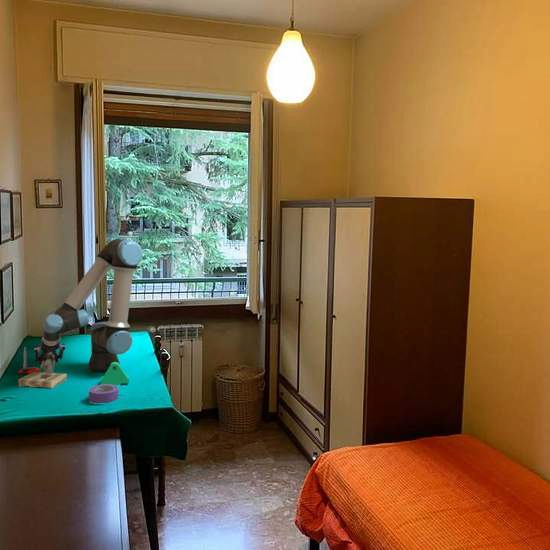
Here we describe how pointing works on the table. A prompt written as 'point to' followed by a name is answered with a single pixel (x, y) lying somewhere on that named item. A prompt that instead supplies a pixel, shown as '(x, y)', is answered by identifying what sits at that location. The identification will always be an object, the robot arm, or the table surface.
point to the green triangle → (115, 375)
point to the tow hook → (25, 369)
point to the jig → (42, 379)
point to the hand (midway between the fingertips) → (47, 366)
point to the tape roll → (103, 393)
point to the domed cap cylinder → (48, 363)
